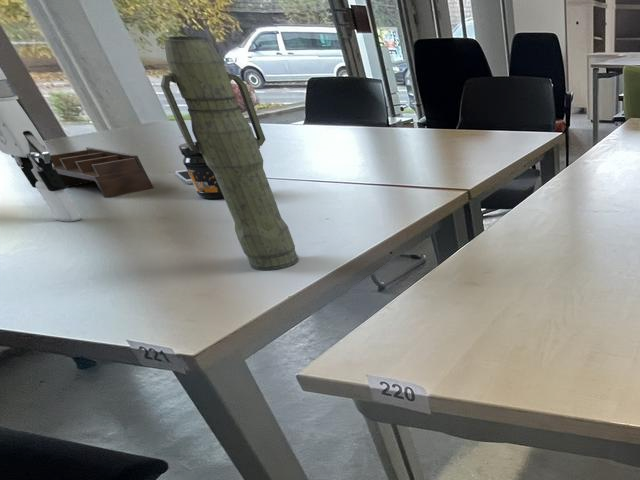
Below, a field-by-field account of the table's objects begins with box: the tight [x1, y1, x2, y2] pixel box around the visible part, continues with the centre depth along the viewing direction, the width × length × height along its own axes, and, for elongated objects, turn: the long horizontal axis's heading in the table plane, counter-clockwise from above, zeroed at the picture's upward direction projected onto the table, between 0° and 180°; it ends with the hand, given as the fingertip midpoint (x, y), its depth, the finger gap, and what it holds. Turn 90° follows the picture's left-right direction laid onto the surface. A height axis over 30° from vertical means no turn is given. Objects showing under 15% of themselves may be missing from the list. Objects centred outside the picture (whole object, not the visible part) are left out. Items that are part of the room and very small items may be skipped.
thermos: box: [160, 35, 300, 271], centre depth 90 cm, size 9×12×35 cm
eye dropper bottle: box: [31, 163, 82, 223], centre depth 115 cm, size 4×6×12 cm
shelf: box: [50, 146, 154, 198], centre depth 138 cm, size 12×22×8 cm, turn 65°
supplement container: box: [178, 141, 224, 200], centre depth 134 cm, size 10×10×12 cm
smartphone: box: [174, 169, 193, 185], centre depth 151 cm, size 7×16×1 cm, turn 43°
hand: (49, 187), depth 115 cm, fingers closed on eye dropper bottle, 5 cm apart
